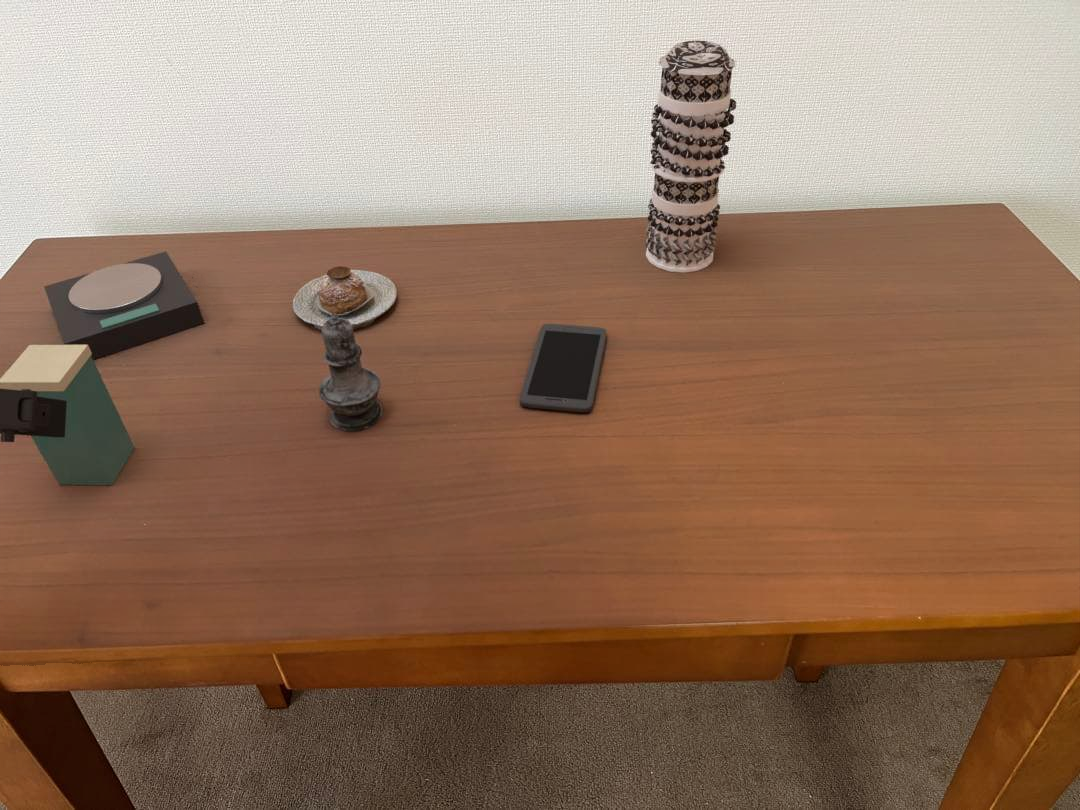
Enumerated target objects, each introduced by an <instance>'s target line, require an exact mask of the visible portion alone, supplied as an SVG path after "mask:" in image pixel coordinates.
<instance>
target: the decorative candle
mask: <svg viewBox="0 0 1080 810" xmlns="http://www.w3.org/2000/svg"><path fill="white" fill-rule="evenodd" d="M658 65H660V66H661V69H662V70H661V77H660V82H661V83H660V86H659V89H658V97H657V98H658V101H657V104H656V105H654V107H653V110H654V111H653V112H652V114H651V115H652V118H651V120H650V123H651V125H652V126H651V129H652V130H651V131H650V137H652V138H653V139H652V141H653V142H652V143H651V147H652V148H651V149H650V154H651V160H650V163H649V164H650V165H651V169H652V170H653V172H654V181H653V182H654V184H653V185H652V191H651V198H650V200H649V203H648V206H647V208H648V209H649V212H648V214H649V215H648V216H647V221H648V223H649V224H648V225H647V228H646V231H645V233H646V236H647V238H646V240H645V246H646V252H645V257H646V259H647V261H648V262H649V263H650V264H651V265H652V266H654V267H655V268H657V269H661V270H664V271H667V272H671V273H683V274H684V273H692V272H698V271H701V270H703V269H705V268H707V267H709V266H710V265H711V263H712V262H713V261H714V252H715V251H716V247H715V246H716V242H715V241H716V240H717V236H716V235H717V234H718V231H717V229H715V228H717V227H718V226H719V225H718V222H719V220H720V219H719V215H720V209H721V205H720V204H719V203H718V202H719V195H720V194H719V192H720V189H719V181H720V176H721V175H722V174H723V173H725V169H726V166H725V161H724V160H723V159H722V158H723V157H725V156H727V155H728V154H729V151H730V147H729V146H728V145H727V144H726V143H728V142H730V141H731V138H732V137H731V135H732V134H731V132H730V131H729V130H728V129H727V127H729V126H731V125H733V124H734V123H735V116H734V114H733V113H731V112H732V111H734V110H736V109H737V101H736V100H735V99H734V98H731V95H732V89H731V83H732V75H733V69H734V68H735V67H736V60H735V59H733V58H732V57H731V56H729V54H728V51H727V49H726V48H725V47H723V46H722V45H721V44H718V43H716V42H713V41H708V40H687V41H683V42H679V43H676V44H675V45H674V46H672V47H671V48H669V51H668V52H667V54H665V55H664V56H662V57H660V58H659V62H658Z"/></svg>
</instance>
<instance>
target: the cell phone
mask: <svg viewBox="0 0 1080 810" xmlns="http://www.w3.org/2000/svg"><path fill="white" fill-rule="evenodd" d="M606 342H607V329H606V328H604V327H598V326H588V325H587V326H586V325H572V324H563V323H562V324H561V323H544V324H541V326H540V329H539V332H538V336H537V339H536V341H535V344H534V348H533V351H532V354H531V358H530V361H529V365H528V368H527V371H526V375H525V378H524V381H523V384H522V388H521V391H520V395H519V405H520V406H522V407H524V408H529V409H539V410H550V411H560V412H572V413H582V414H583V413H590V412H591V411H592V410H593V406H594V402H595V399H596V393H597V389H598V383H599V378H600V373H601V369H602V363H603V358H604V357H603V356H604V352H605V347H606Z"/></svg>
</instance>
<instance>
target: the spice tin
mask: <svg viewBox="0 0 1080 810" xmlns="http://www.w3.org/2000/svg"><path fill="white" fill-rule="evenodd" d="M91 355H92V352H91V350H90V348H89V346H88V345H64V344H29V345H28V346H27V347H26V348H25V349H24V351H23V352H22V353H21V354H20V355H19V356H18V358H17V359H16V360H15V361H14V362H13V363H12V365H11V366H10V367H9V368H8V369H7V370H6V372H5V373H4V374H3V375H2V376H1V377H0V389H11V390H22V389H31V391H35V392H37V396H38V397H44V398H51V399H58V400H65V401H67V405H66V424H65V437H41V436H30V437H31V439H32V441H33V442H34V445H35V446H36V447H37V449H38V451H39V453H40V454H41V456H42V458H43V459H44V461H45V463H46V465H47V466H48V468H49V470H50V471H51V473H52V475H53V477H54V479H55V480H56V482H57V483H58V485H59V486H114V484H115V482H116V480H117V478H118V476H119V475H120V474H121V471H122V470H123V469H124V467H125V465H126V463H127V462H128V460H129V458H130V457H131V455H132V453H133V452H134V450H135V449H136V447H135V445H134V443H133V441H132V439H131V436H130V435H129V433H128V430H127V428H126V426H125V424H124V422H123V420H122V417H121V415H120V413H119V410H118V409H117V407H116V405H115V402H114V401H113V399H112V396H111V394H110V392H109V390H108V387H107V386H106V384H105V382H104V380H103V378H102V375H101V373H100V371H99V369H98V368H97V367H98V366H97V365H96V363H95V360H93V359H92V357H91Z"/></svg>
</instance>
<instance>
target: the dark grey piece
mask: <svg viewBox="0 0 1080 810" xmlns="http://www.w3.org/2000/svg"><path fill="white" fill-rule="evenodd" d="M330 318H331V319H329V320H327V321H326V322H325V323H324V324H323V326H322V330H321V336H322V340H323V344H324V349H325V351H324V353H323V356H322V357H323V361H324V362H325V364H327V365H328V368H329V372H330V374H328V376H326V377H325V378H324V379H323V380H322V381H321V383H320V385H319V388H318V393H319V396H320V398H321V400H323V402H325V404H326V405H327V406H328V408H330V411H329V415H328V419H329V423H330V424H331V425H332V426H333V427H334V428H335V429H336V430H339V431H341V432H349V433H350V432H351V433H353V432H360V431H364V430H367V429H369V428H371V427H373V426H374V425H376V424H377V423H378V422H379V421H380V420H381V418H382V417H383V413H384V409H383V404H382V403H381V402H380V401H379V400H378V396H379V393H380V392H379V391H380V389H381V385H382V383H381V378H380V376H379V375H378V374H377V373H376V372H375V371H373V369H369V368H366V367H363V366H362V362H361V357H362V354H363V351H362V348H361V347H360V346H359V345H358V344H357V341H356V338H355V333H354V329H353V328H352V325H351V323H350V322H349V321H348V320H346V319H345V318H340V317H338V315H337V314H336V313H334V312H333V313H332V314H331V316H330Z"/></svg>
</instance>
